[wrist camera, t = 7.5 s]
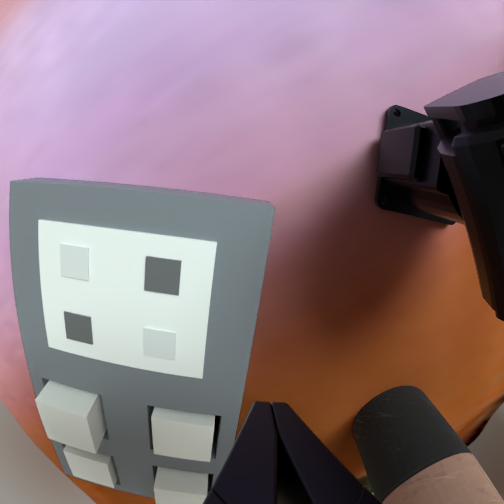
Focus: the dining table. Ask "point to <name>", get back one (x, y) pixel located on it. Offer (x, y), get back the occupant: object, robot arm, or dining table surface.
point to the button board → (139, 307)
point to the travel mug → (417, 453)
